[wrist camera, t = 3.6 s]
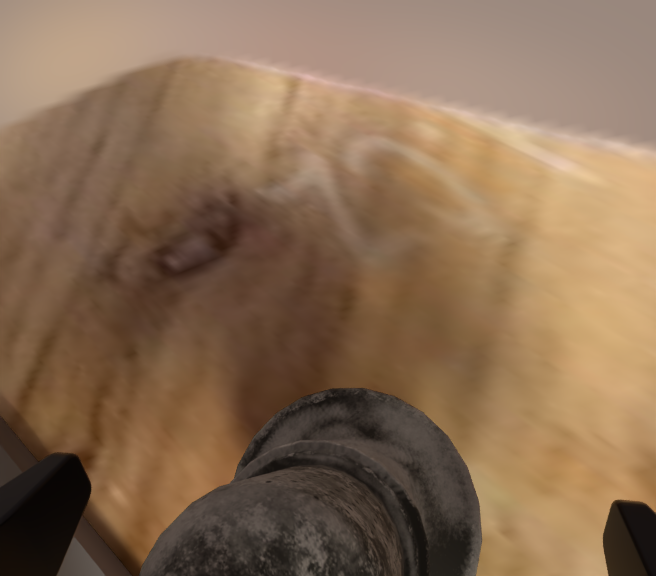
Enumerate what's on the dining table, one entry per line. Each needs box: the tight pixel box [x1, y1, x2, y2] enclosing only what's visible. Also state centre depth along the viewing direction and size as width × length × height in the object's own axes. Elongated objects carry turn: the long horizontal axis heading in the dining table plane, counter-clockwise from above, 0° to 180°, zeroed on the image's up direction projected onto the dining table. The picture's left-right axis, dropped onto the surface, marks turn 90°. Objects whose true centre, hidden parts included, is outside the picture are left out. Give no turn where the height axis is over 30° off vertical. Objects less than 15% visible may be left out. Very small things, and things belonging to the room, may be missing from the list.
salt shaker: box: [139, 388, 482, 576], centre depth 9 cm, size 6×6×12 cm
